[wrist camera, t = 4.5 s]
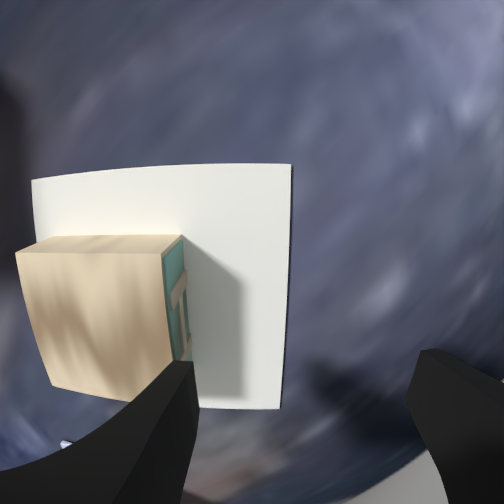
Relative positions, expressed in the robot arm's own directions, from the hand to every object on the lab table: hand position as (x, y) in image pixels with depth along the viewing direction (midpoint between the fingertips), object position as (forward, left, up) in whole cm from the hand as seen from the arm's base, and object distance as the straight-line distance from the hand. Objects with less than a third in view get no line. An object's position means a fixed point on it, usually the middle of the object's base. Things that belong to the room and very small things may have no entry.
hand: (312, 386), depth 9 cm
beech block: (0, +5, -4) cm, 6 cm away
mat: (0, +7, -6) cm, 9 cm away
